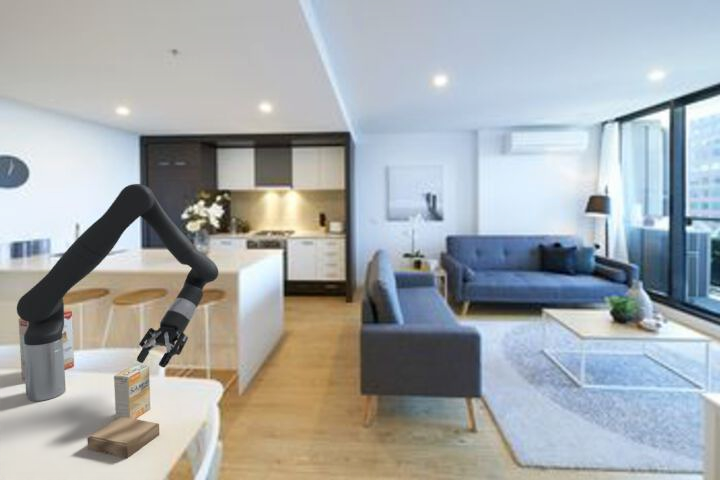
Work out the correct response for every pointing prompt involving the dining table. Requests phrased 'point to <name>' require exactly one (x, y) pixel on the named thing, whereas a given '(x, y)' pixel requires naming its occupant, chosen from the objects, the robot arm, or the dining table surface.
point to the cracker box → (66, 335)
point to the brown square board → (123, 436)
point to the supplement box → (132, 392)
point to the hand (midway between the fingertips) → (150, 364)
